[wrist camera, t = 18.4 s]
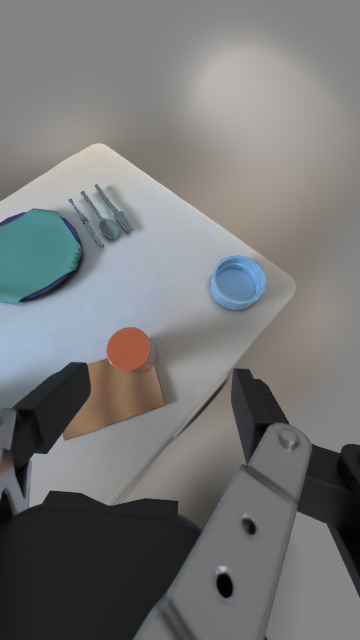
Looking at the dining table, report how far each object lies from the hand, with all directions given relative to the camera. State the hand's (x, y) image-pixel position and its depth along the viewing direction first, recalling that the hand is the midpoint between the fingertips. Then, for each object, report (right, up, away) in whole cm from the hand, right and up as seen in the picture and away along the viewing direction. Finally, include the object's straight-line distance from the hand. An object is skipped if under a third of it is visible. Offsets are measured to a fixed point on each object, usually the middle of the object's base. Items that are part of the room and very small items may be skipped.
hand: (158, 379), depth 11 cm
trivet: (-10, -8, +22) cm, 26 cm away
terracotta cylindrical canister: (-6, -3, +23) cm, 23 cm away
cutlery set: (-24, +19, +30) cm, 43 cm away
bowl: (+12, +9, +28) cm, 31 cm away
